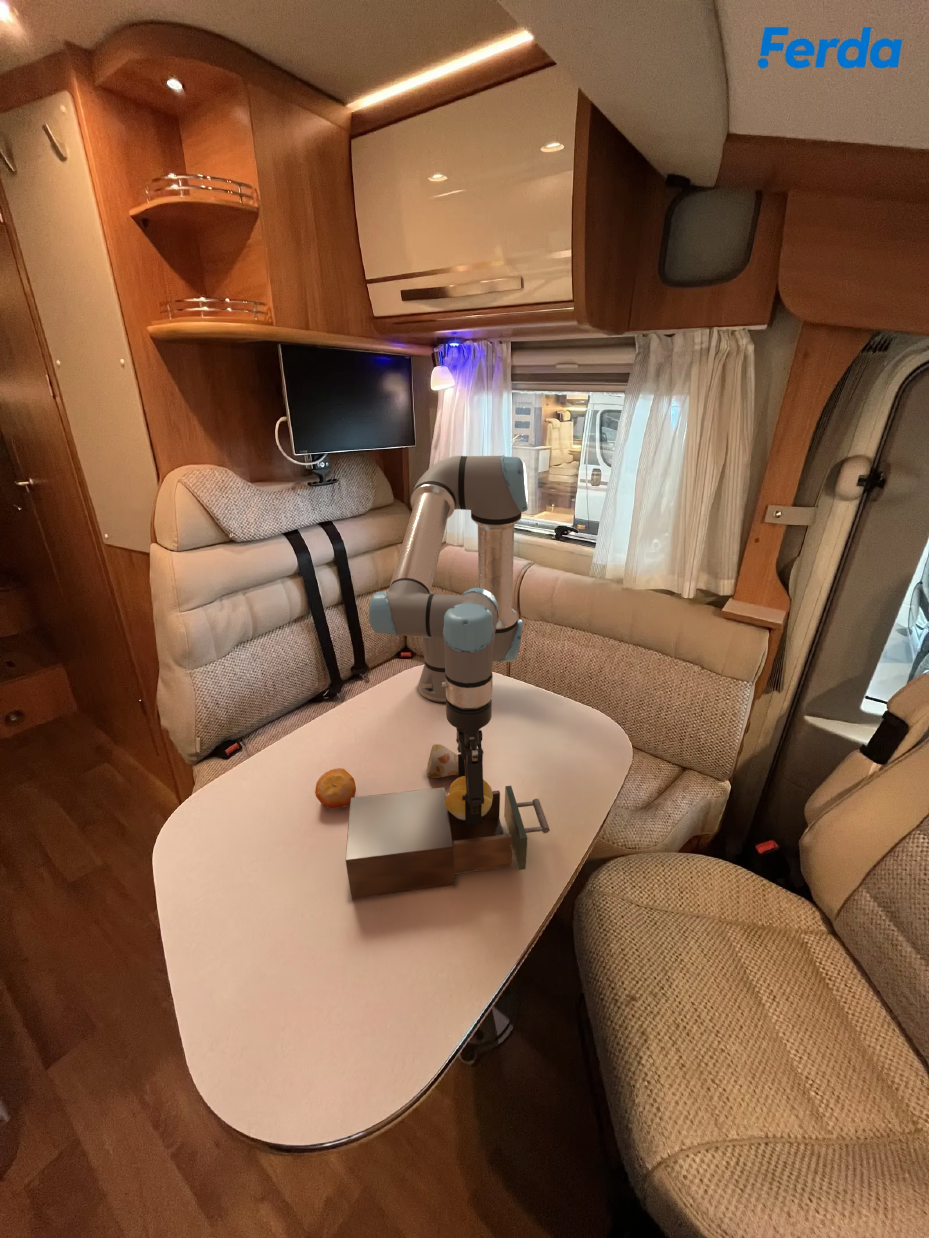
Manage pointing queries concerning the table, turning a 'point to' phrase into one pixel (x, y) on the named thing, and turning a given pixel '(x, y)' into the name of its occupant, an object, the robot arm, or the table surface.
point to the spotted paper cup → (442, 762)
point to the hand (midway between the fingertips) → (469, 801)
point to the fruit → (335, 788)
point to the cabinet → (399, 843)
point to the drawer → (494, 836)
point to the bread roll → (458, 805)
